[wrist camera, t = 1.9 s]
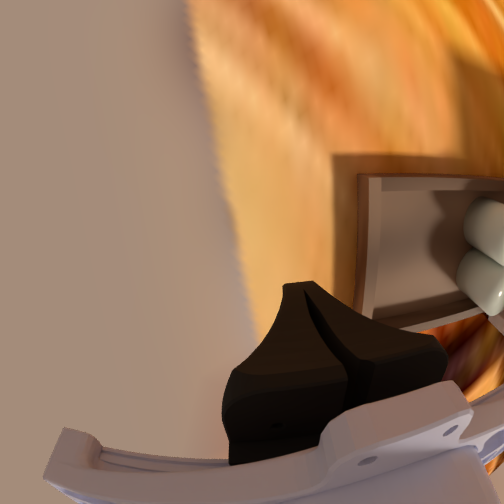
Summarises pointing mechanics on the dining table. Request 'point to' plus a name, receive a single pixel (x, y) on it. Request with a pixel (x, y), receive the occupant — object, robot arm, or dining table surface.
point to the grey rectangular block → (498, 321)
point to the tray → (415, 246)
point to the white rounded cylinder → (482, 281)
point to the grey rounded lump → (486, 227)
